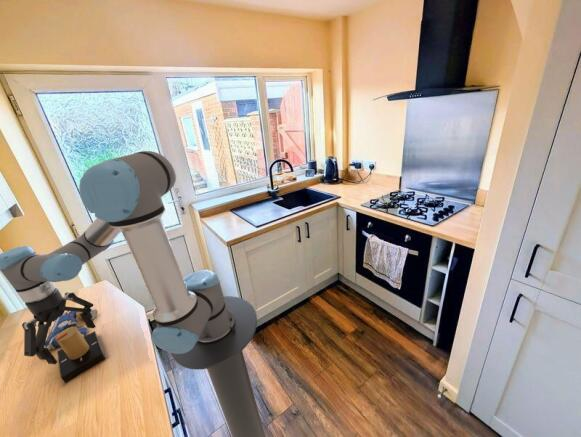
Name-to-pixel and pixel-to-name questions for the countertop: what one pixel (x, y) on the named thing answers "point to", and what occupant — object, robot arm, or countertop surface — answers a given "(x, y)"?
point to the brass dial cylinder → (72, 342)
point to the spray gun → (66, 326)
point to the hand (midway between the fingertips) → (74, 343)
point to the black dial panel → (81, 359)
